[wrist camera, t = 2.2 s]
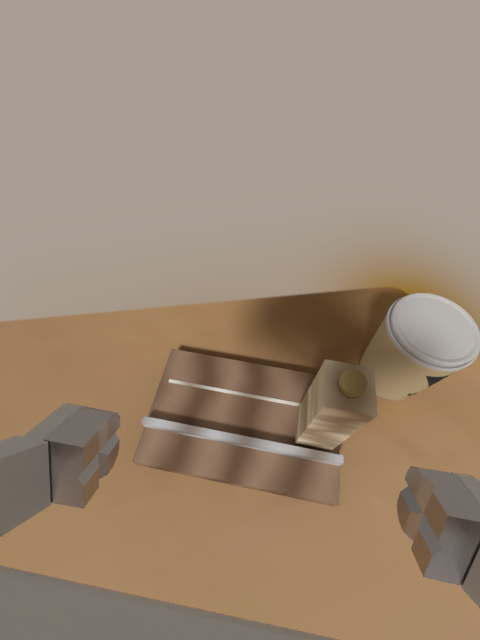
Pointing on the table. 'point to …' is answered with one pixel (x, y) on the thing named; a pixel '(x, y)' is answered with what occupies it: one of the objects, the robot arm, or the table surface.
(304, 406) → the beige tall block
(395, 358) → the coffee cup
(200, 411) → the board
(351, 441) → the table surface
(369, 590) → the table surface
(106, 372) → the table surface
